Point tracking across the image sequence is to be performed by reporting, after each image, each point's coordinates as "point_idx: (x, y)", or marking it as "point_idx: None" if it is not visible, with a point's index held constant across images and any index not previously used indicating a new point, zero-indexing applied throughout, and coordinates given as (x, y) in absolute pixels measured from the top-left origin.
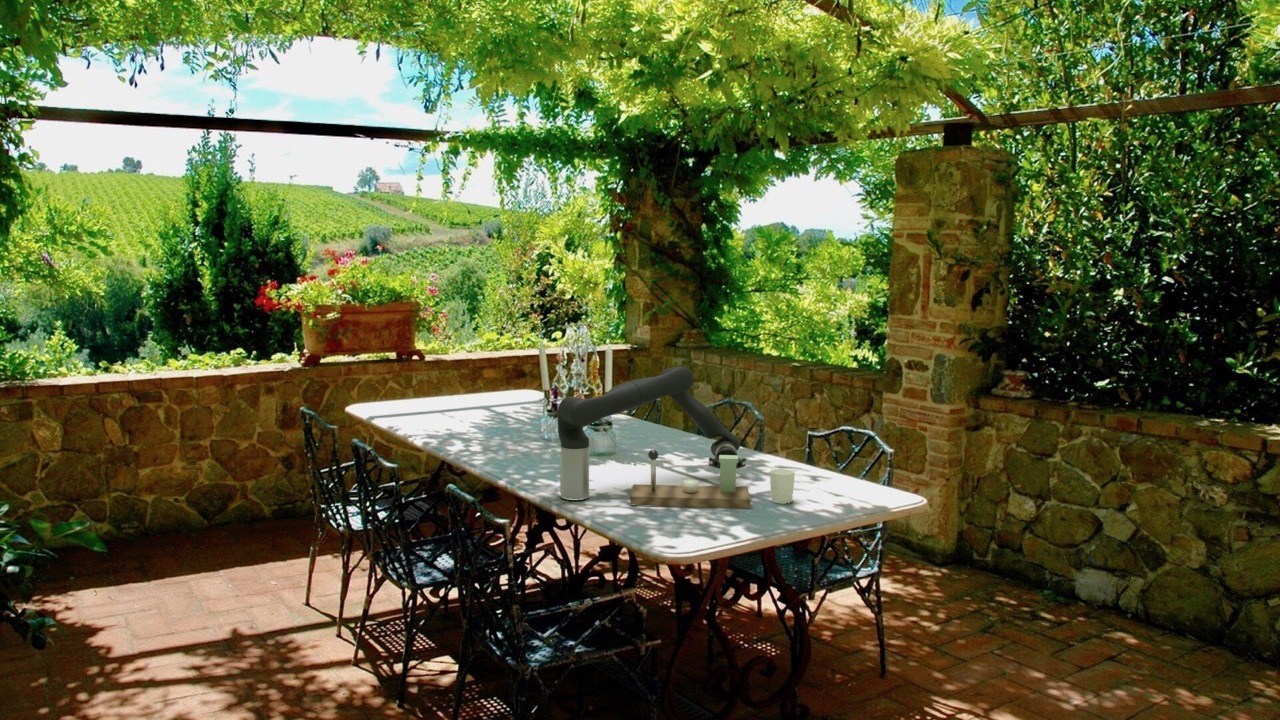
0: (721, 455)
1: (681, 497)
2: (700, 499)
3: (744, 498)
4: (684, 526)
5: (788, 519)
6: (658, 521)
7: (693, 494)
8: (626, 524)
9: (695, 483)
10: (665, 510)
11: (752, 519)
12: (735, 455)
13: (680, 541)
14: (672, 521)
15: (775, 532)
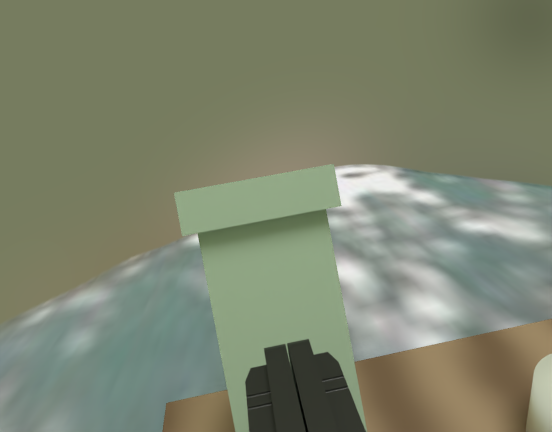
0: (313, 168)
1: (528, 329)
2: (429, 350)
3: (197, 409)
4: (377, 230)
5: (59, 351)
6: (466, 234)
7: (514, 395)
8: (523, 204)
9: (534, 372)
10: (539, 307)
11: (190, 317)
12: (196, 189)
13: (346, 188)
14: (429, 243)
15: (147, 260)
